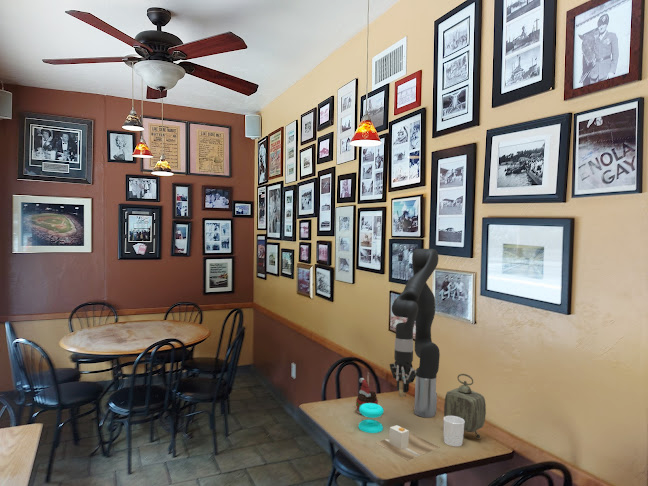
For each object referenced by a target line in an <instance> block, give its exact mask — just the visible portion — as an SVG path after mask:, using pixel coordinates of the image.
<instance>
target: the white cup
mask: <svg viewBox="0 0 648 486" xmlns="http://www.w3.org/2000/svg"><path fill="white" fill-rule="evenodd" d="M464 425H465V421H464V419H462V418H460V417H457V416H445V417H444V416H443V428H442V429H443V442H444V443H445V444H446V445H448V446H450V447H461V446H462V445H463V442H464V441H463V440H464V433H465V431H464Z"/></svg>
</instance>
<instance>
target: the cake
mask: <svg viewBox="0 0 648 486" xmlns="http://www.w3.org/2000/svg"><path fill="white" fill-rule="evenodd" d="M366 374H367V375H366V379H365V378H364V377H360V378H359V379H358V380H359V383H361V385H360V386H359V388H358V390H359V394H358V395H357V398H356V402H355V407H356V409H355V411H356V413H358V414H360V415H362V414H361V413H360V411H359V407H360V406H361V405H362V404H365V403H374V404H378V402H379V400H378V397H377V393H376V391H374V390H370V372H367V373H366ZM378 405H379V404H378Z"/></svg>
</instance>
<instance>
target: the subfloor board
mask: <svg viewBox="0 0 648 486" xmlns="http://www.w3.org/2000/svg"><path fill="white" fill-rule="evenodd" d="M375 444H377V445H379V446H381V448H382V447H383V448H384V449H386V450H388V451H389V452H391V453H393V454H395V455H397V456H399V457H400V458H401V459H402V458H403V459H404V460H406V461H410V460H413V459H414V458H418V457H420V456H422V455H425V454H427V453H430V452H432V451H435V450H437V449H440V446H438V445H435V444H433V443H432V442H430V441H427V440H425V439H423V438H421V437H419V436H417V435H415V434H412V433H411V432H409V441H408V447H407V448H404V449H399V448H397V447H395V446H393V445H391V444H389V437H388V438H385V439H382V440H380V441H377V442H375Z"/></svg>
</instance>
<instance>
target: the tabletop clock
mask: <svg viewBox="0 0 648 486" xmlns="http://www.w3.org/2000/svg"><path fill="white" fill-rule="evenodd" d="M457 375H458V376H457V381H458V382H459V383H461V385H459V387H457V388H454V389H451V390H449V391H446V394H445V398H444V405H443V410H444V411H443V418H444V417H445V416H457V417H460V418H462V419H464V421H465V425H464V432H468V433H474V435H475V437H476V439H480V438H481V435H480V434H479V433H478V432H477V431H478V430H480V429H483V427H484V424H485V422H486V414H487V407H486V406H487V405H486V400H485V396H484V395H483V394H481V393H480V392H477V391H474V390H472V389H471V387H470V386H471V385H473V384H474V379H473V377H472V376H471V375H468V374H467V373H466V374H465V373H460V374H457ZM461 376H465V377H467V378H469V379H470V380H471V383H467V381H466V380H463V381H462V380H460V377H461Z"/></svg>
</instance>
